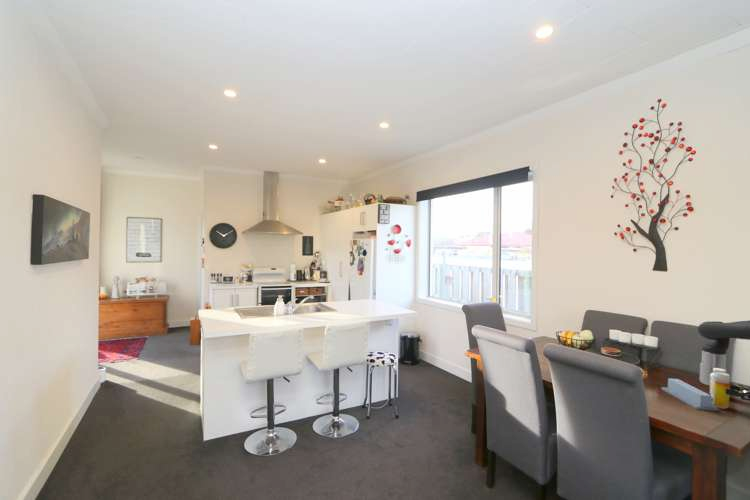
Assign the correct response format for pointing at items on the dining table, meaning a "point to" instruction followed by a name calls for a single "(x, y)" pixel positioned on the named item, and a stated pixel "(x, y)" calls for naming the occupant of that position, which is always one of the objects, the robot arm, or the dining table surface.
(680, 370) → the dining table surface
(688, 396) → the rail
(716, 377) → the beer can
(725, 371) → the supplement bottle
